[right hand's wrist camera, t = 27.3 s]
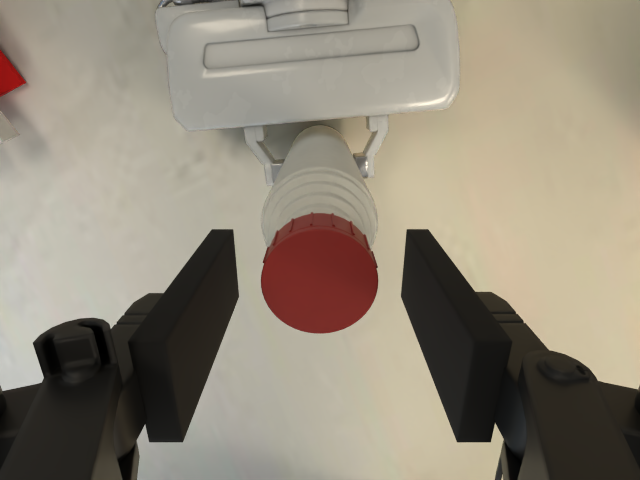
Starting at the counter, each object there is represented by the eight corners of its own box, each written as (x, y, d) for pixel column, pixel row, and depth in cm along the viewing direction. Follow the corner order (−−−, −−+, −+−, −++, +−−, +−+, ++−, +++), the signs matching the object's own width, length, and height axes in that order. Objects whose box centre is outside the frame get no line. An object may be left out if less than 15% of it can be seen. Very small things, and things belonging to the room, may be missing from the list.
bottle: (313, 112, 35) (300, 162, 12) (360, 148, 36) (431, 257, 13) (279, 161, 37) (211, 288, 14) (325, 194, 38) (335, 362, 15)
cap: (304, 189, 13) (302, 203, 12) (394, 249, 14) (405, 270, 13) (246, 274, 15) (237, 297, 13) (332, 324, 15) (334, 353, 14)
